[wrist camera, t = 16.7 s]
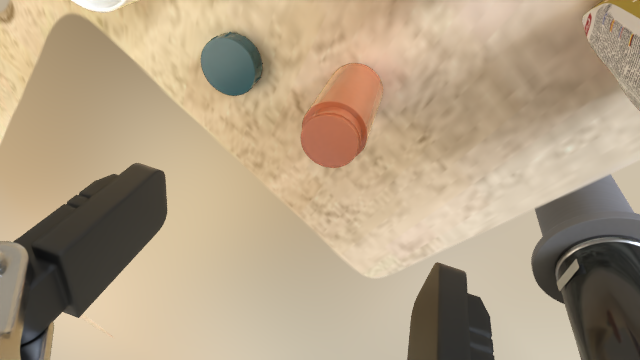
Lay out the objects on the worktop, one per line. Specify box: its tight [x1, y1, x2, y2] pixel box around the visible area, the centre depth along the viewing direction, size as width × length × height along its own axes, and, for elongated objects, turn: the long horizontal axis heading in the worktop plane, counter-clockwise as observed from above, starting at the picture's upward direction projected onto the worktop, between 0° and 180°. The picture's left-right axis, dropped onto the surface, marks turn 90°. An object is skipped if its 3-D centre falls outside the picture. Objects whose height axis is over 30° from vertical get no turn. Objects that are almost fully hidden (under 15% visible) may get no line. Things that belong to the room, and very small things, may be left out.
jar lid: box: [201, 32, 263, 96], centre depth 38 cm, size 6×6×2 cm
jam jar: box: [301, 63, 383, 168], centre depth 33 cm, size 5×5×11 cm
